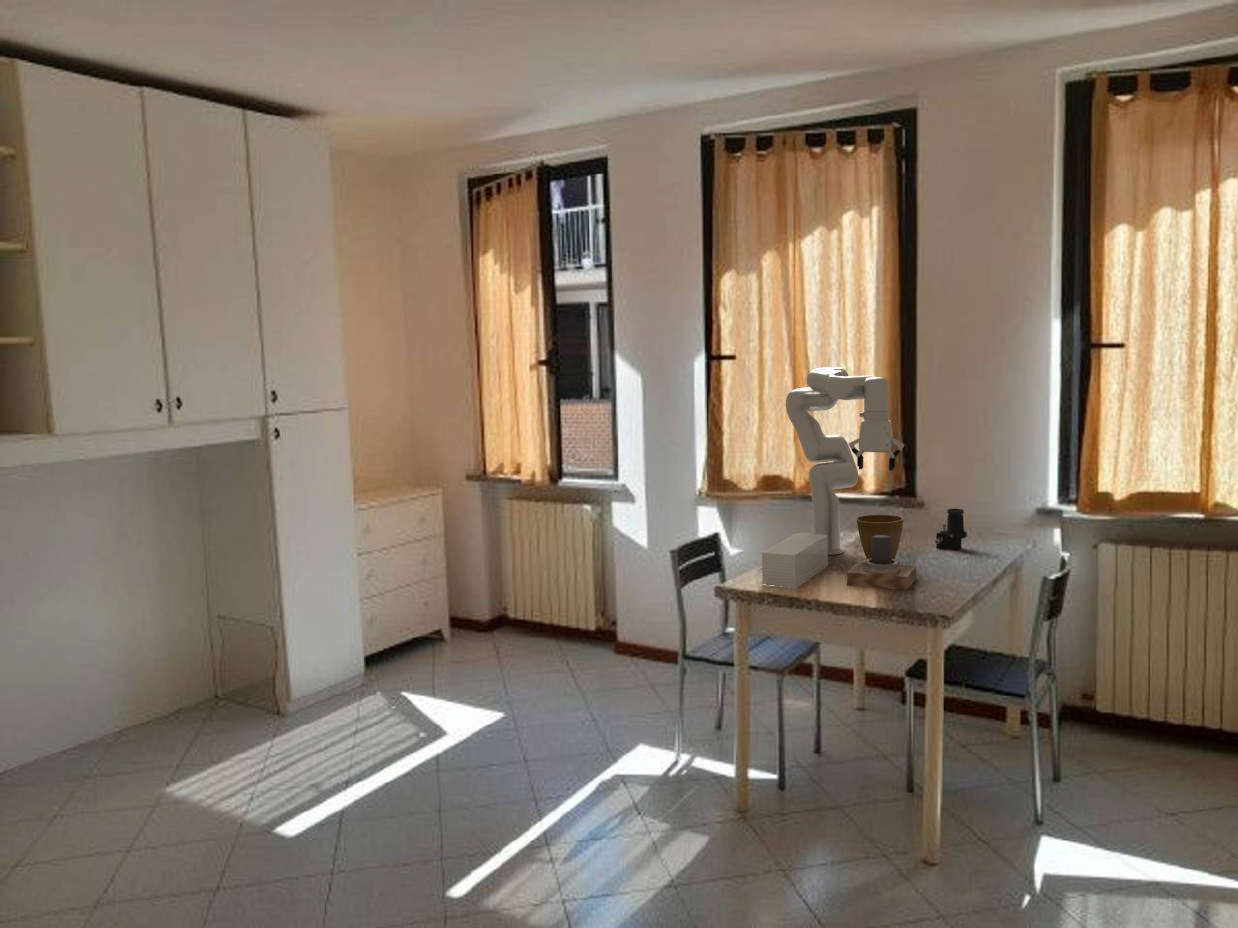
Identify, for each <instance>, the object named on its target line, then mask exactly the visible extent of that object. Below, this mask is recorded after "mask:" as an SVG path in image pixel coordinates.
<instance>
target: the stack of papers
mask: <svg viewBox="0 0 1238 928" xmlns="http://www.w3.org/2000/svg"><path fill="white" fill-rule="evenodd" d="M827 543H828V541H827V535H823V534H812V533H805V532H796V533H793V534H792V535H790V536H788V537H787V538H785V539H783V540H782V541H779V542H778V543H776V544H774V545H772V546H771V547H769V548H768V549H767V548H766V550H764V551H762V552H761V567H762V568H761V572H762V573H761V574H762V576H761V578H762V584H766V585H775V586H782V587H790V588H789V589H791V588H796V589H797V587H798V586H799V587H800V586H802V585H803V584H804V583H806V582H807V581H809V580H810V579H811V578H813V577H814V576H815V575H817V574H819V573H820V572H821V571H823V570H824V569H825V568H827V567H828V566H829V563H828V557H829V555H828V550H827V549H828V547H827V546H828V544H827ZM801 584H802V585H801ZM799 587H798V588H799Z"/></svg>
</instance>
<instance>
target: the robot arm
mask: <svg viewBox="0 0 1238 928" xmlns="http://www.w3.org/2000/svg"><path fill="white" fill-rule="evenodd" d="M806 384H807V386H808V387H801V388H800V387H799V388H796V389H793V390H791V391H790V392H788V394H787V395H786V398H785V399H786V400H785V409H786V410H785V411H786V414H787V416H788V417H787V418H788V419H789V421H790V423H791V424H792V426H793V427H794V430H795V431H796V433H797V437H798V439H799V442H800V445H801V448H802V451H803V454H804V456H805V458H806V460H807V461H808V462H810V463H815V465H813V466H812V467H811V468H809V471H808V481H809V486H810V492H811V493H810V494H811V509H812V510H811V512H812V513H811V515H812V516H811V518H812V519H811V520H812V522H811V523H812V527H811V528H812V529H811V530H812V533H811V534H823V535H827V541H828V543H827V544H828V546H827V547H828V549H827V550H828V556H835V555H840V554H843V553H845V551H846V550H845V547H844V546H841V515H840V514H841V512H840V511H841V510H840V509H841V508H840V500H839V497H838V495H836V493H835V491H834V490H839V489H847V488H848V489H849V488H853V487H855V486H856V485H857V483H858V482H859V470H862V469H864V455H863V454H864V453H887V454H888V455H889V457H890V458H888V471H890V472H891V471H894V469H895V468H896V457H897V456H898V455H899V454H900V453H901V452H902V450H903V448H904V446H905V444H904V443H902V442H901V441H899V440H897V439H895V438H894V437H893V427H892V421H891V420H889V416H890V415H889V412H890V411H889V407H890V406H889V402H890V401H889V398H890V393H889V392H890V391H889V390H890V387H889V386H890V385H889V384H890V382H889V379H888V378H886V377H877V376H875V375H854V376H849V373H848V371H847V370H846V369H844V368H843V367H839V366H838V367H837V366H835V367H834V366H833V367H832V366H831V367H818V368H814V369H812V370H811V371H810V372H809V373H808V375H807V377H806ZM839 400H842V401H853V400H854V401H856V400H863V401H864V402H863V407H864V408H863V411H862V412H859V417H861V418H863V420H861V421H860V427H859V437H858V438H857V439H855V440H852V441H851V442H848V441H847V440H846V439H845V438H844V437H843V436H842V435H839V434H828V435H827V434H825V433H824V432H823V430H822V427H821V425H820V423H819V421H818V420H817V419H816V418H815V417H814V416H813V415H811V414H810V413H809V412H819V411H829V410H831V409H833V407H835V405H836V404H837V403H838V401H839ZM857 444H858V449H859V450H858V449H857V448H856V446H855V445H857ZM894 445H896V446H897V449H896V450H895V451H894V449H893V447H894ZM853 455H855V457H856V461H855V459H854V456H853ZM857 467H858V468H857Z"/></svg>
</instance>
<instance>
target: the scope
mask: <svg viewBox="0 0 1238 928" xmlns="http://www.w3.org/2000/svg"><path fill="white" fill-rule="evenodd" d="M946 511H947V520H946V521H947V523H946V524H945V523H943V524H942V530H939V532H936V533H935V534H936V537H935V538H936V539H935V540H934V543H935V544H936V549H941V550H942V549H944V550H951V551H959V550H962V539H966V538H967V537H968V535H967V534H968V533H967V531H965V527H964V525H965V524H964V514H965V511H964V509H962V508H948V509H947V510H946Z"/></svg>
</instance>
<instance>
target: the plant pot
mask: <svg viewBox="0 0 1238 928" xmlns="http://www.w3.org/2000/svg"><path fill="white" fill-rule="evenodd" d="M856 523H857V530H858V534H859V539H860V543H861V546H862V549H863V552H864V556H865V560H866V559H870V558H871V537H872V536H876V535H886V536H890V537H891V556H892V559H895V560H896V557H897V554H898V550H899V546H900V541H901V539H902V533H903V527H904V526H903V525H904V517H903V516H900V515H895V514H893V515H892V514H868V515H867V514H866V515H861V516H858V517H856Z"/></svg>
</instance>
